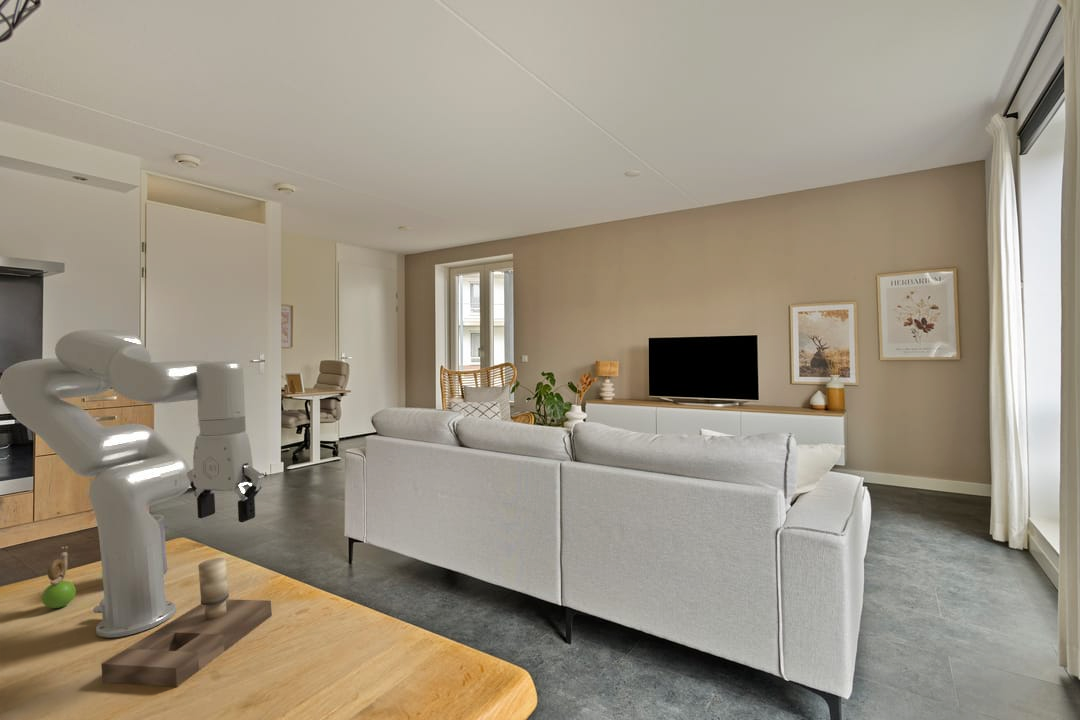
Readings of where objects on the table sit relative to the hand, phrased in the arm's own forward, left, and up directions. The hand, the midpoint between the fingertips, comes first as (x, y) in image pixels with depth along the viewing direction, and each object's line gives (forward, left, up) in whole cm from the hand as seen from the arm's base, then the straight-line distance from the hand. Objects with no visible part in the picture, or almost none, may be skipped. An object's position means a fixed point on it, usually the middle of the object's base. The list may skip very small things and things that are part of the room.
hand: (226, 517), depth 99 cm
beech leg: (-3, 0, -18) cm, 19 cm away
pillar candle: (-43, +22, -22) cm, 53 cm away
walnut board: (-3, -5, -21) cm, 22 cm away
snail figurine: (-48, +7, -22) cm, 53 cm away
